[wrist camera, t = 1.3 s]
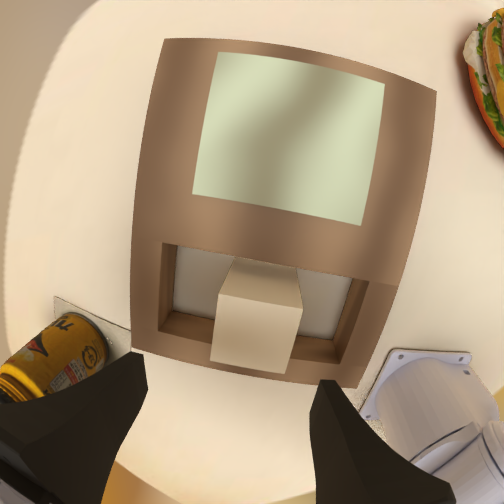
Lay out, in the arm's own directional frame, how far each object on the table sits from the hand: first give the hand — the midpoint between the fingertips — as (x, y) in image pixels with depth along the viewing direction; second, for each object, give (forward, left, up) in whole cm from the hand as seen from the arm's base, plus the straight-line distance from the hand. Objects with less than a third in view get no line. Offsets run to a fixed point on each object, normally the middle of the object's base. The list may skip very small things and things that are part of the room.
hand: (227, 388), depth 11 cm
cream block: (-1, 0, -10) cm, 10 cm away
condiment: (+13, +9, -10) cm, 19 cm away
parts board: (-1, -5, -10) cm, 11 cm away
